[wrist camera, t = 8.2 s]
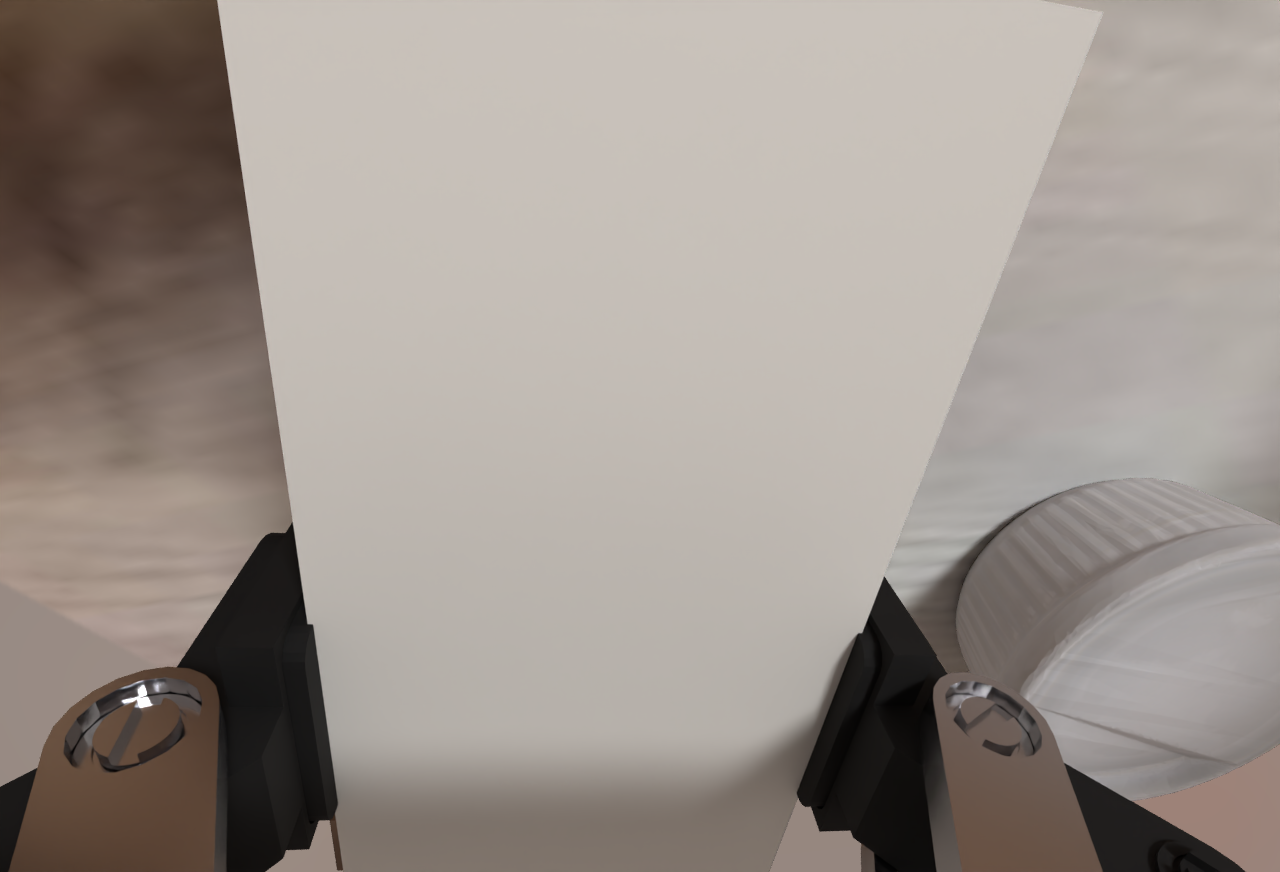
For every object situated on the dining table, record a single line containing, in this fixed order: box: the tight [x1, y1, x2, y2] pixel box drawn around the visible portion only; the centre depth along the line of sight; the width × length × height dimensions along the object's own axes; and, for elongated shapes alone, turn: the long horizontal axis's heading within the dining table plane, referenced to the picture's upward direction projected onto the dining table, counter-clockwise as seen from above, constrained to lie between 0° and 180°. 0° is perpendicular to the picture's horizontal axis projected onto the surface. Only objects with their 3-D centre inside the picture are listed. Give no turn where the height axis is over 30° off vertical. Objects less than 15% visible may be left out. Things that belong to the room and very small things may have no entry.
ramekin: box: [956, 478, 1280, 801], centre depth 22 cm, size 11×11×5 cm
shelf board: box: [217, 0, 1103, 872], centre depth 10 cm, size 15×6×4 cm, turn 173°
